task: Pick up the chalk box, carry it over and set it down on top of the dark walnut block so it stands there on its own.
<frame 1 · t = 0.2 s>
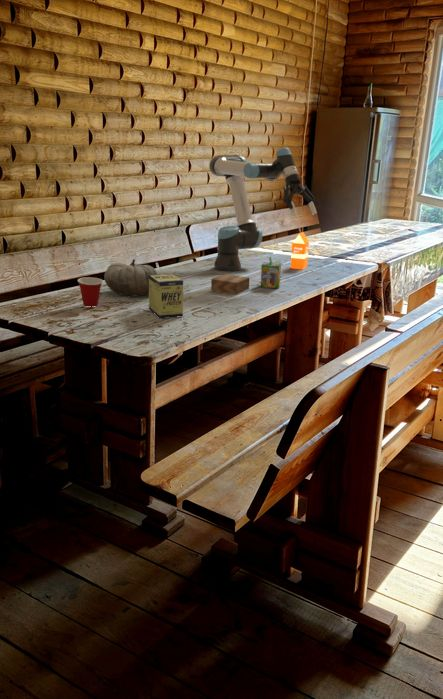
hand: (304, 214, 342), 35 cm above the table, fingers open, 13 cm apart
gourd: (130, 294, 320), on the table
chalk box: (270, 286, 344), on the table
walnut block: (230, 290, 334), on the table
protein box: (165, 313, 289), on the table
orange juice: (298, 267, 393), on the table
plastic cup: (91, 307, 296), on the table
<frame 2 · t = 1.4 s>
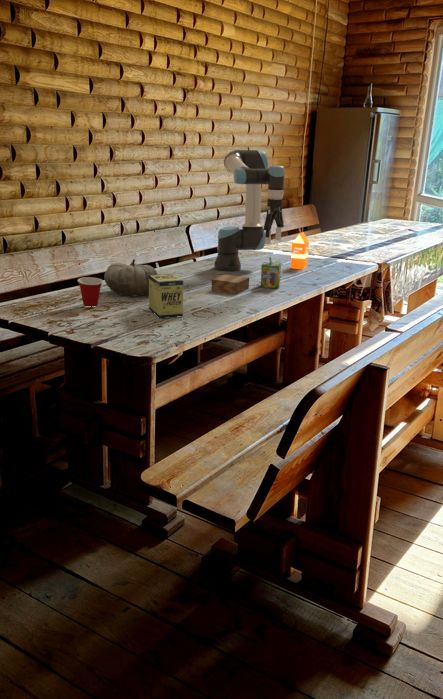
hand: (272, 242, 337), 22 cm above the table, fingers open, 13 cm apart
nothing on the table moved.
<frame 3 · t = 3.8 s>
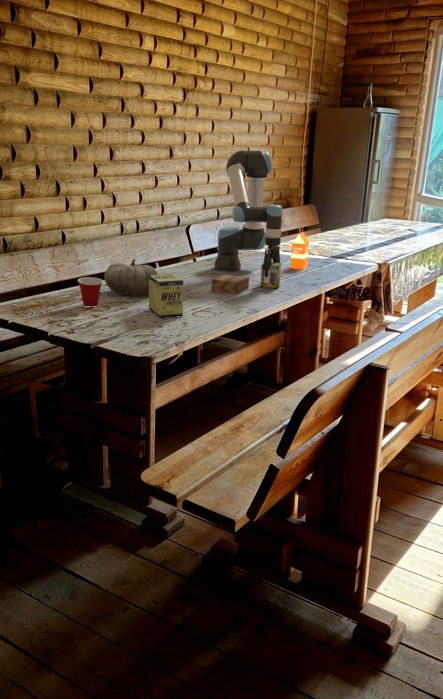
hand: (270, 280, 343), 3 cm above the table, fingers closed on chalk box, 10 cm apart
chalk box: (270, 286, 344), on the table, touching gripper
everything else where it was.
when the fingers open (10 cm above the table, at t = 10.7 s): chalk box drops 2 cm, resting on walnut block.
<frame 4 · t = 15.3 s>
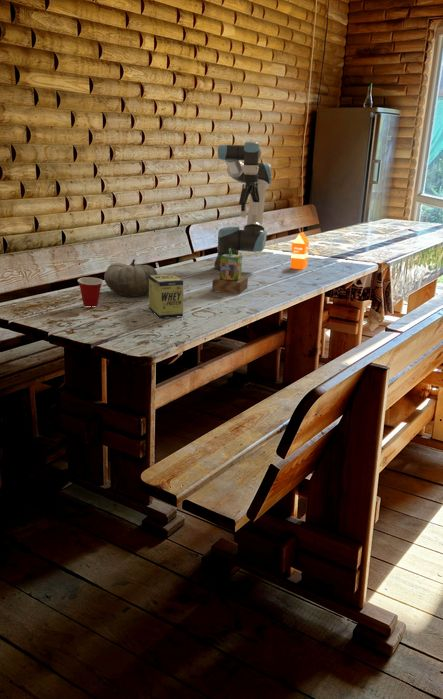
hand: (248, 216, 349), 33 cm above the table, fingers open, 13 cm apart
chalk box: (230, 279, 332), point 5 cm above the table, touching walnut block
walnut block: (230, 290, 335), on the table, touching chalk box
everything else where it was.
at the end: chalk box inside the target area on the walnut block (0.6 cm from its centre), point 5.8 cm above the walnut block's base; chalk box tilted 0°; the gripper is holding nothing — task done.
